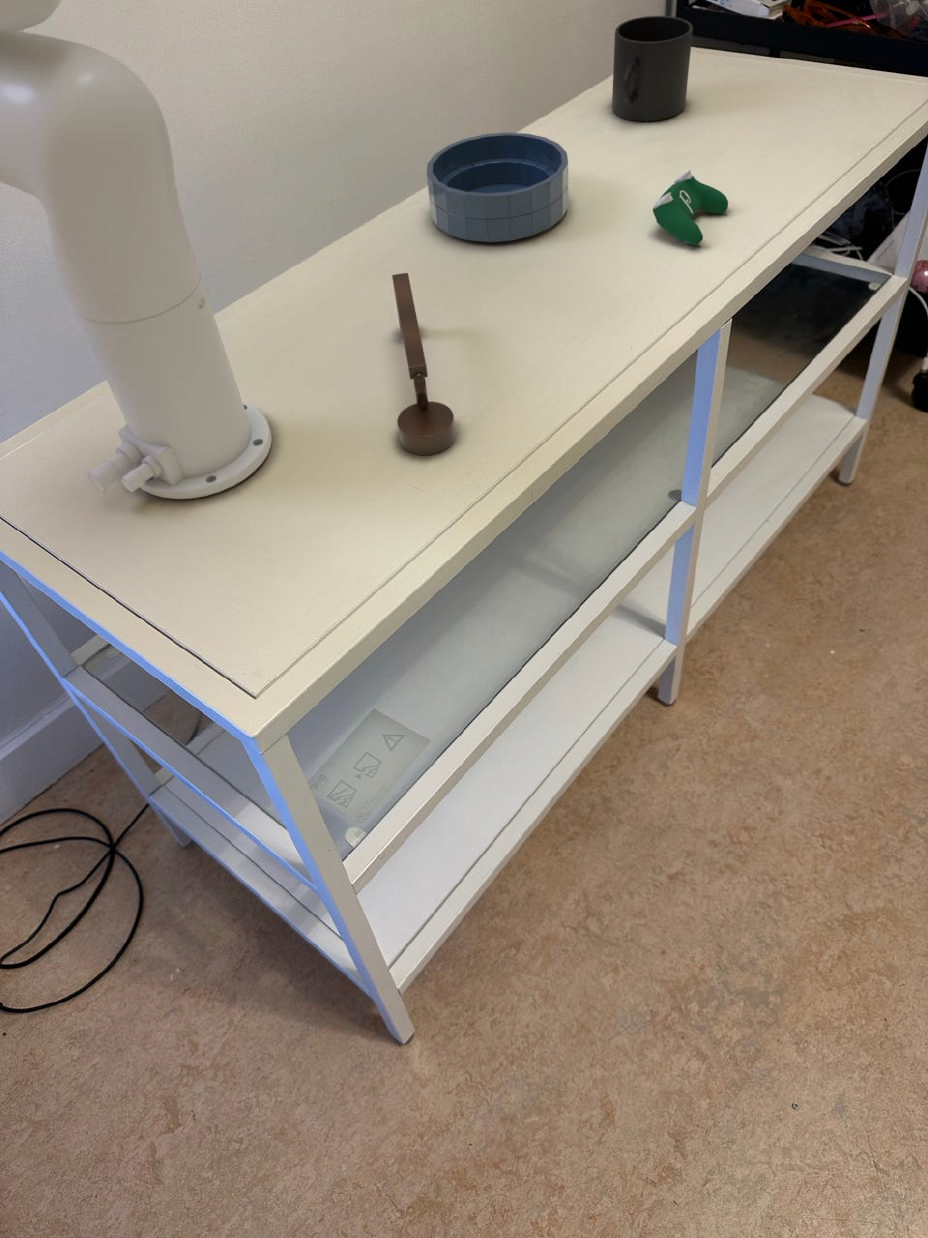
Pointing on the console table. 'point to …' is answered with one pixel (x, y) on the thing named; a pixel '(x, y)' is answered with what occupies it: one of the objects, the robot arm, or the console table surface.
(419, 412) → the brown long handled part
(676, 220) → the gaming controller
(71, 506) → the console table surface
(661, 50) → the mug
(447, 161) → the bowl
